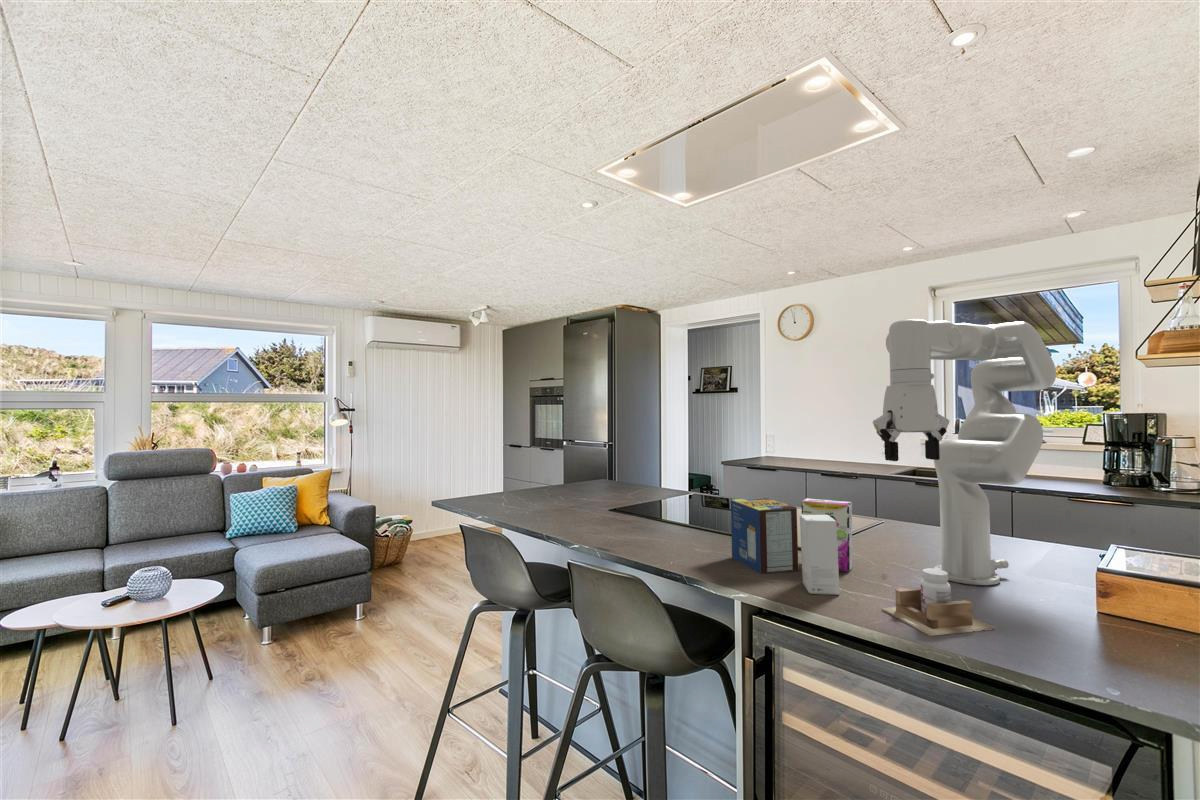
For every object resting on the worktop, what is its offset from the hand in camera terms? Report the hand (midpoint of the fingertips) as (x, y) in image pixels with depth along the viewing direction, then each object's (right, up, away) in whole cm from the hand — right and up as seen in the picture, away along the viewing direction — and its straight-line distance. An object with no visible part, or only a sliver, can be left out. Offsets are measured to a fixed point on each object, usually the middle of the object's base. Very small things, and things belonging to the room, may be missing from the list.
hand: (912, 459), depth 112 cm
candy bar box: (-9, -29, +20) cm, 36 cm away
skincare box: (-18, -29, +4) cm, 34 cm away
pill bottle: (-3, -28, -13) cm, 31 cm away
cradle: (-4, -28, -13) cm, 31 cm away
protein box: (-24, -29, +24) cm, 45 cm away
